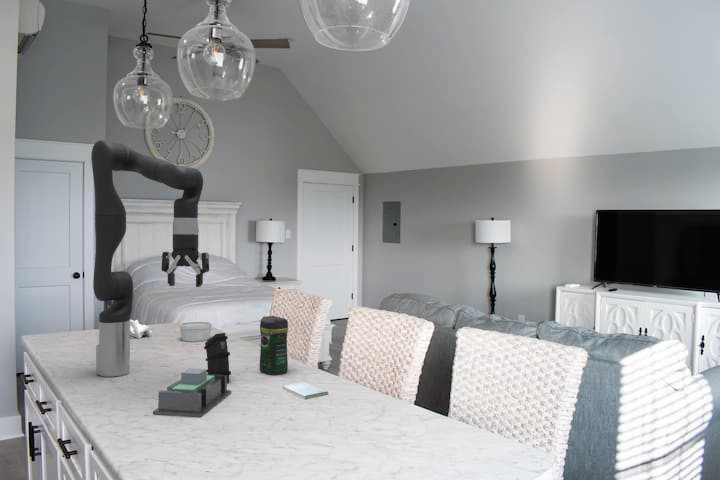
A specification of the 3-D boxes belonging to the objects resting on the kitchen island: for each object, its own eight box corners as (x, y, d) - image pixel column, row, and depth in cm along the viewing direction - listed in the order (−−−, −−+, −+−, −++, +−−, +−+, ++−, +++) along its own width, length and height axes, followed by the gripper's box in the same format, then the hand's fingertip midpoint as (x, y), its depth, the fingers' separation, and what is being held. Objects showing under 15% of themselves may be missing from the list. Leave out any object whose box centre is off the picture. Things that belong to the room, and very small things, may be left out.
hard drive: (328, 391, 162) (305, 381, 171) (304, 395, 157) (282, 385, 166) (328, 396, 162) (305, 386, 171) (304, 401, 157) (282, 390, 166)
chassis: (200, 417, 141) (201, 395, 141) (152, 414, 143) (152, 392, 143) (231, 393, 162) (231, 374, 162) (189, 390, 163) (189, 372, 163)
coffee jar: (291, 372, 185) (292, 317, 185) (271, 376, 180) (272, 319, 180) (275, 367, 192) (275, 313, 192) (255, 370, 187) (256, 315, 187)
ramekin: (187, 336, 245) (188, 320, 245) (216, 337, 243) (216, 321, 243) (173, 342, 232) (173, 325, 232) (203, 343, 230) (204, 326, 230)
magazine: (223, 381, 167) (215, 333, 172) (208, 390, 177) (201, 345, 182) (234, 379, 170) (226, 332, 175) (219, 388, 179) (212, 343, 184)
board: (193, 397, 145) (193, 378, 145) (171, 396, 146) (171, 377, 145) (214, 382, 159) (214, 365, 158) (194, 381, 159) (194, 364, 159)
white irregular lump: (130, 338, 246) (120, 317, 243) (142, 331, 250) (133, 310, 247) (142, 343, 238) (131, 321, 235) (155, 335, 242) (145, 313, 239)
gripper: (157, 232, 166) (157, 287, 166) (202, 233, 164) (202, 288, 164) (169, 232, 173) (169, 284, 173) (212, 233, 171) (212, 285, 172)
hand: (185, 286), depth 169 cm, fingers open, 8 cm apart
